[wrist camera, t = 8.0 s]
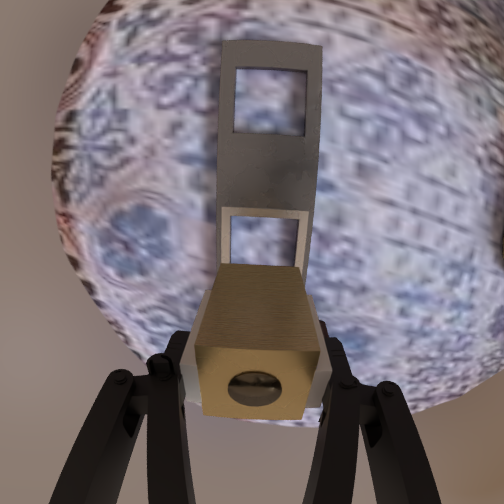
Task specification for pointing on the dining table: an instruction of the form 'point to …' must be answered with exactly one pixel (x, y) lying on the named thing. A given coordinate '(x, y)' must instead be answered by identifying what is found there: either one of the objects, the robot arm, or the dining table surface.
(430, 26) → the dining table surface
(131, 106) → the dining table surface
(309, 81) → the grey board with holes
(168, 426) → the robot arm
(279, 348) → the gold block with hole
